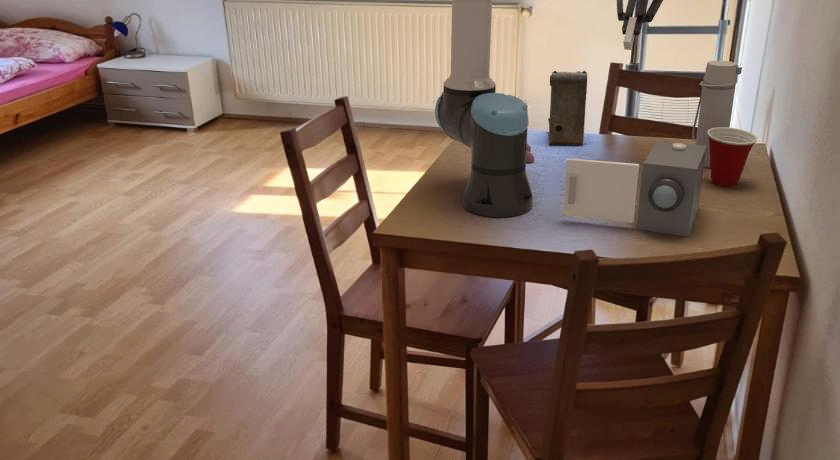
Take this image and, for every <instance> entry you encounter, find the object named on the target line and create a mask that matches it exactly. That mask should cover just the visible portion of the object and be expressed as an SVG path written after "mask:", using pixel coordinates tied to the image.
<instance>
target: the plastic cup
mask: <svg viewBox="0 0 840 460" xmlns="http://www.w3.org/2000/svg"><path fill="white" fill-rule="evenodd" d="M707 135H708V137H709V146H710V168H709V169H710V181H711V183H712V184H713V185H715V186H719V187H722V188H723V187H724V188H733V187H732V186H734V187H737V186H738V183H739V181H740V179H741V176H742V173H743V171H744V169H745V166H746V163H747V160H748V156H749V154H750V152H751V151H752V148H753V146H755V145H754V144H756V143H757V142H758V136H757V135H755V134H754V133H752V132H749V131H747V130H744V129H740V128H736V127H730V126H729V127H717V128H712V129H709V130H708V132H707Z"/></svg>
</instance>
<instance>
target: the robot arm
mask: <svg viewBox="0 0 840 460" xmlns="http://www.w3.org/2000/svg"><path fill="white" fill-rule="evenodd" d="M663 1H664V0H652V1H651V3H650V5H649V6H648V3H649V0H640V2H639V5H638V9H637V12H636V17H634V16H633V15H634V12H635V8H636V5H637V0H628V2H627V5H626V8H625V11H624V1H623V0H616V13H617V19H618V21H619V22H622V26H621V32H622V35H624V36H623V37H624V38H623V50H628V51H631V50H632V48H633V45H634V40H635V36H640V35H641V33H642V28H643V24H644V23H652V22H653V20H654V18H655V16H656V15H657V13H658V11H659V9H660V7H661V5H662V3H663ZM492 9H493V0H451V38H450V75H449V76H448V78H447V79H445V80H444V82H443V88H442V89H443V91H442V92H441V94H440V96H439V97H438V98H437V100H436V102H435V105H434V106H435V107H434V108H435V109H434V116H435V121H436V123H437V125H438V127H439V128H440V129H441V130H442V132H443V133H445V134H446V136H448V137H449V138H450V139H452V140H454V141H456V142H458V143H461V144H463V145H465V146H467V147H469V148H470V149H471V166H470V167H471V169H470V174H469V176H468V179H467V181H466V184H465V185H466V186H465V188H464V190H463V195H462V206H463V208H464V209H465V210H466V211H468V212H470V213H473V214H475V215H479V216H483V217H489V218H506V217H507V218H509V217H515V216H519V215H523V214H525V213H528V212H529V211H530V210H531V209H532V207H533V198H534V197H533V192H532V190H531V189H532V188H531V185H530V182H529V179H528V176H527V173H526V171H527V170H526V169H527V164H526V163H527V162H526V149H527V144H528V143H527V142H528V127H529V114H528V113H529V112H528V107H527V104H526V103H525V102H524V100H522V99H520V98H519V97H517V96H515V95H511V94H505V93H501V92H496V85H497V83H496V82H495V81H494V80H493V79H492V78H491V76H490V64H491V62H490V61H491V41H492V40H491V39H492V37H491V35H492V14H493V13H492V11H493V10H492Z"/></svg>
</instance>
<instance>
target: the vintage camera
mask: <svg viewBox="0 0 840 460" xmlns="http://www.w3.org/2000/svg"><path fill="white" fill-rule="evenodd" d="M549 86H550V102H549V103H550V106H549V107H550V108H549V117H548V118H547V120H548V126H549V127H548V145H555V146H556V145H557V146H558V145H559V146H560V145H563V146H567V145H568V146H583V145H584V138H585V137H584V136H585V121H586V120H585V119H586V104H587V92H588V90H587V88H588V72H587V71H586V70H582V71H576V72H575V71H573V72H572V71H571V72H570V71H557V70H554V71H552V72H551V75H550V76H549Z"/></svg>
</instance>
